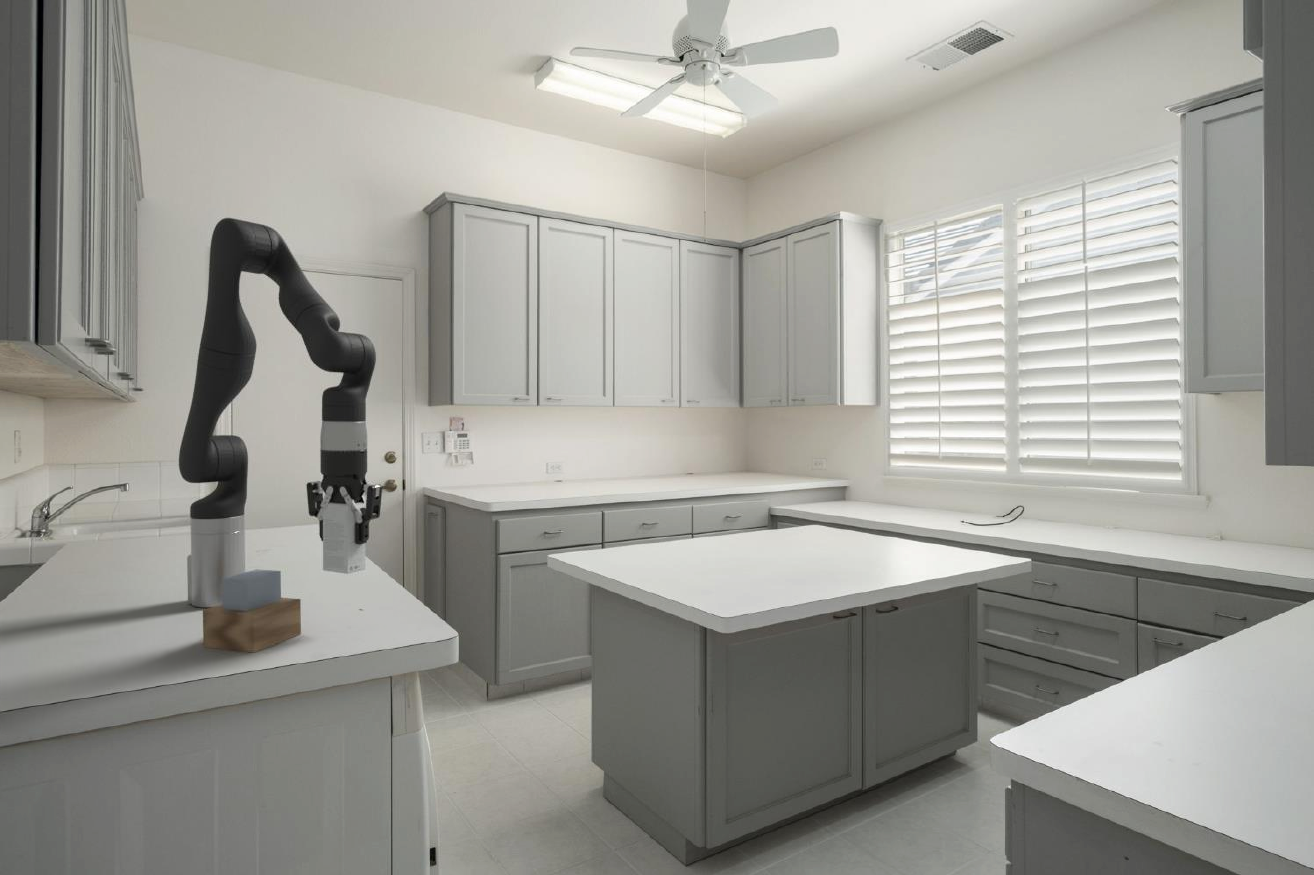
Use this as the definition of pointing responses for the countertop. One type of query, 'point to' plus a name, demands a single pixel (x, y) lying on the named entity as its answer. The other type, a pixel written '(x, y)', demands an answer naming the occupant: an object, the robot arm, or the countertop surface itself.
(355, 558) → the skincare box
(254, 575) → the slate brick
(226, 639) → the walnut block
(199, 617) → the countertop surface
